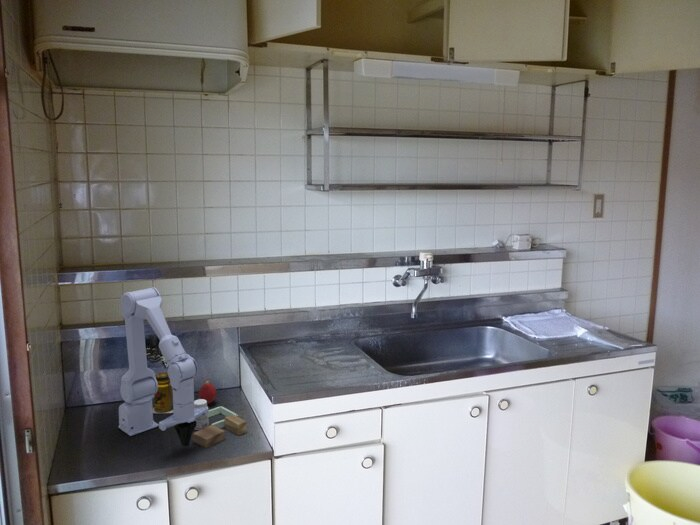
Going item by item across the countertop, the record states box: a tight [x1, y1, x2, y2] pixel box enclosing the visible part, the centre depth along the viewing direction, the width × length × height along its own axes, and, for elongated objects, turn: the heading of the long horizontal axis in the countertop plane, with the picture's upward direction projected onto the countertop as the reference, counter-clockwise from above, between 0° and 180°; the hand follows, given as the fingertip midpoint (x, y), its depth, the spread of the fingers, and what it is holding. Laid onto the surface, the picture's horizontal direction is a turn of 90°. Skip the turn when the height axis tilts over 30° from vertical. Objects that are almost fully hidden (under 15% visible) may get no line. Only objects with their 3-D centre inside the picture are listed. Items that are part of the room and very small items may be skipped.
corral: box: [208, 405, 240, 429], centre depth 188 cm, size 10×10×2 cm
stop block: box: [224, 414, 247, 436], centre depth 182 cm, size 3×7×4 cm, turn 47°
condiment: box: [153, 372, 174, 414], centre depth 195 cm, size 7×8×12 cm
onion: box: [198, 380, 217, 405], centre depth 199 cm, size 6×6×8 cm
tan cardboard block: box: [192, 424, 226, 449], centre depth 175 cm, size 7×6×3 cm
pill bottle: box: [194, 398, 210, 431], centre depth 183 cm, size 5×5×8 cm
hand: (185, 445), depth 169 cm, fingers closed
